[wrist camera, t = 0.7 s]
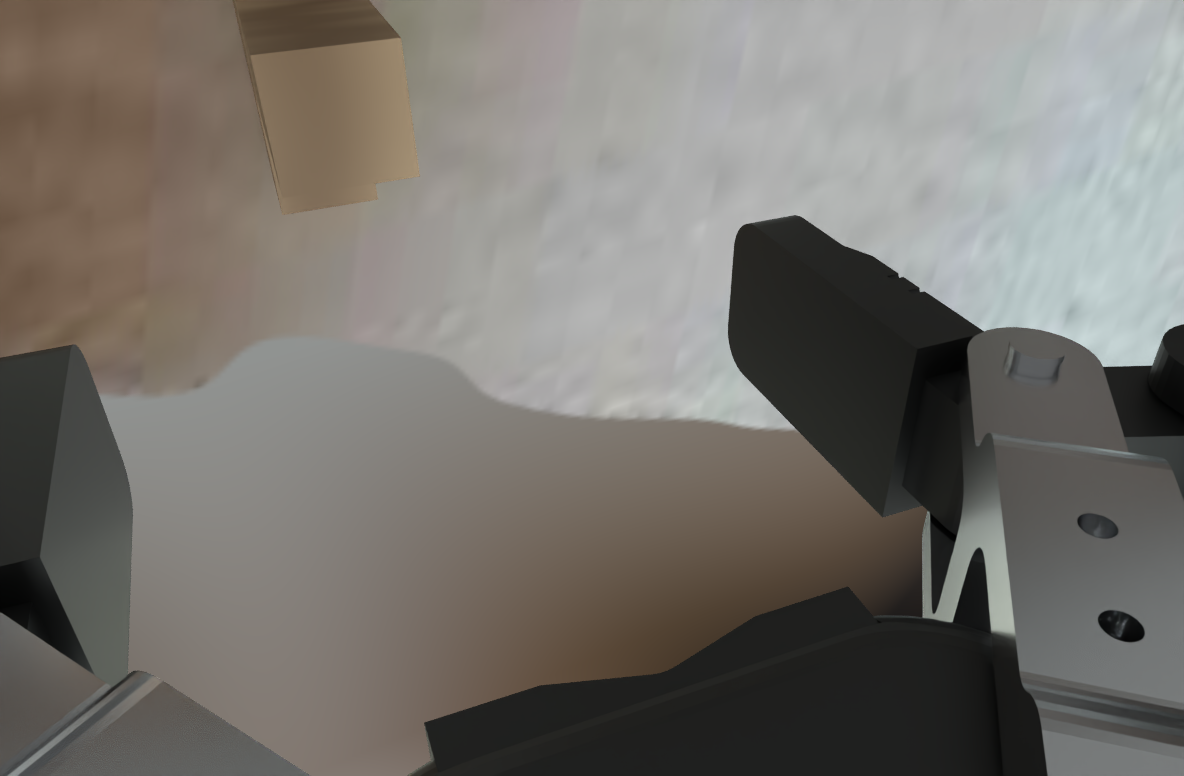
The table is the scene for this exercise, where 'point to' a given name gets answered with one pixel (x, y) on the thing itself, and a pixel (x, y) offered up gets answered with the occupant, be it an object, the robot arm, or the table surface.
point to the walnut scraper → (328, 99)
